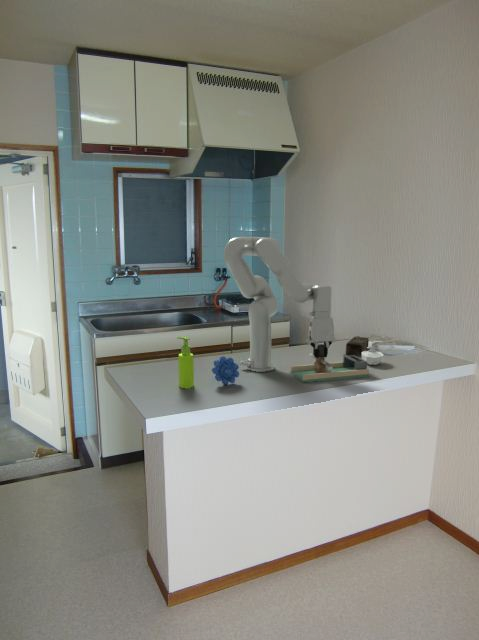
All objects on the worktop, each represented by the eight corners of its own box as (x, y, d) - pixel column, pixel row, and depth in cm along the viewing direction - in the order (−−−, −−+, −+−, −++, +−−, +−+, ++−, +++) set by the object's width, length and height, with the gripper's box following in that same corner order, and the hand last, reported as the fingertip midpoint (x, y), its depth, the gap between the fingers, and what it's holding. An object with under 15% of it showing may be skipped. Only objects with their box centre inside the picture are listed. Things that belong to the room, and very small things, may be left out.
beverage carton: (368, 348, 266) (369, 336, 264) (361, 357, 249) (361, 344, 247) (353, 347, 269) (354, 335, 268) (344, 355, 252) (345, 342, 251)
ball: (324, 372, 216) (327, 363, 216) (320, 369, 220) (323, 361, 220) (332, 374, 217) (335, 366, 217) (327, 372, 221) (331, 363, 221)
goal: (355, 374, 217) (355, 360, 216) (342, 367, 227) (343, 354, 226) (366, 372, 218) (367, 359, 217) (353, 366, 229) (354, 353, 227)
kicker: (326, 379, 208) (327, 350, 206) (307, 366, 226) (307, 340, 224) (333, 378, 209) (334, 350, 207) (313, 365, 227) (314, 339, 225)
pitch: (303, 382, 208) (303, 375, 208) (290, 373, 222) (290, 366, 221) (368, 376, 217) (368, 369, 216) (352, 367, 230) (352, 360, 230)
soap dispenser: (184, 382, 209) (183, 334, 205) (196, 385, 205) (196, 337, 201) (174, 385, 205) (173, 337, 201) (186, 389, 200) (185, 339, 196)
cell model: (359, 366, 232) (360, 352, 231) (362, 359, 244) (362, 346, 242) (382, 368, 229) (383, 354, 228) (384, 361, 240) (384, 347, 239)
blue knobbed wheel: (215, 389, 200) (215, 360, 198) (210, 384, 206) (209, 355, 204) (243, 386, 204) (243, 357, 202) (237, 381, 211) (237, 353, 208)
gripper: (307, 317, 207) (306, 360, 211) (343, 315, 212) (342, 357, 215) (299, 313, 214) (298, 356, 218) (335, 312, 219) (333, 353, 222)
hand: (320, 356), depth 216 cm, fingers closed on kicker, 3 cm apart
